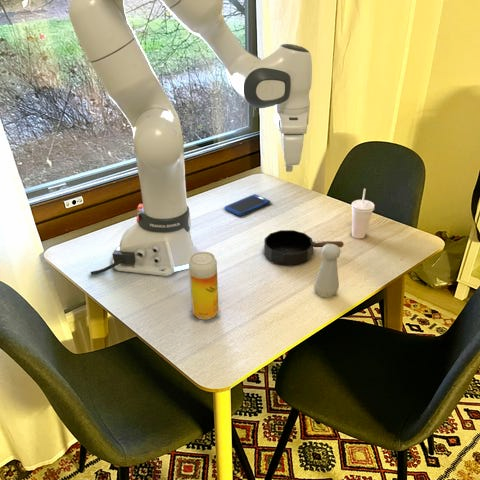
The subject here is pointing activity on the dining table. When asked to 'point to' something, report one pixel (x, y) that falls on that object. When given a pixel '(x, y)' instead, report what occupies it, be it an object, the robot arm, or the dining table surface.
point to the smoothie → (361, 216)
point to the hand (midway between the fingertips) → (288, 169)
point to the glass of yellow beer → (203, 285)
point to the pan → (291, 247)
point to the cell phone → (247, 205)
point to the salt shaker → (328, 272)
